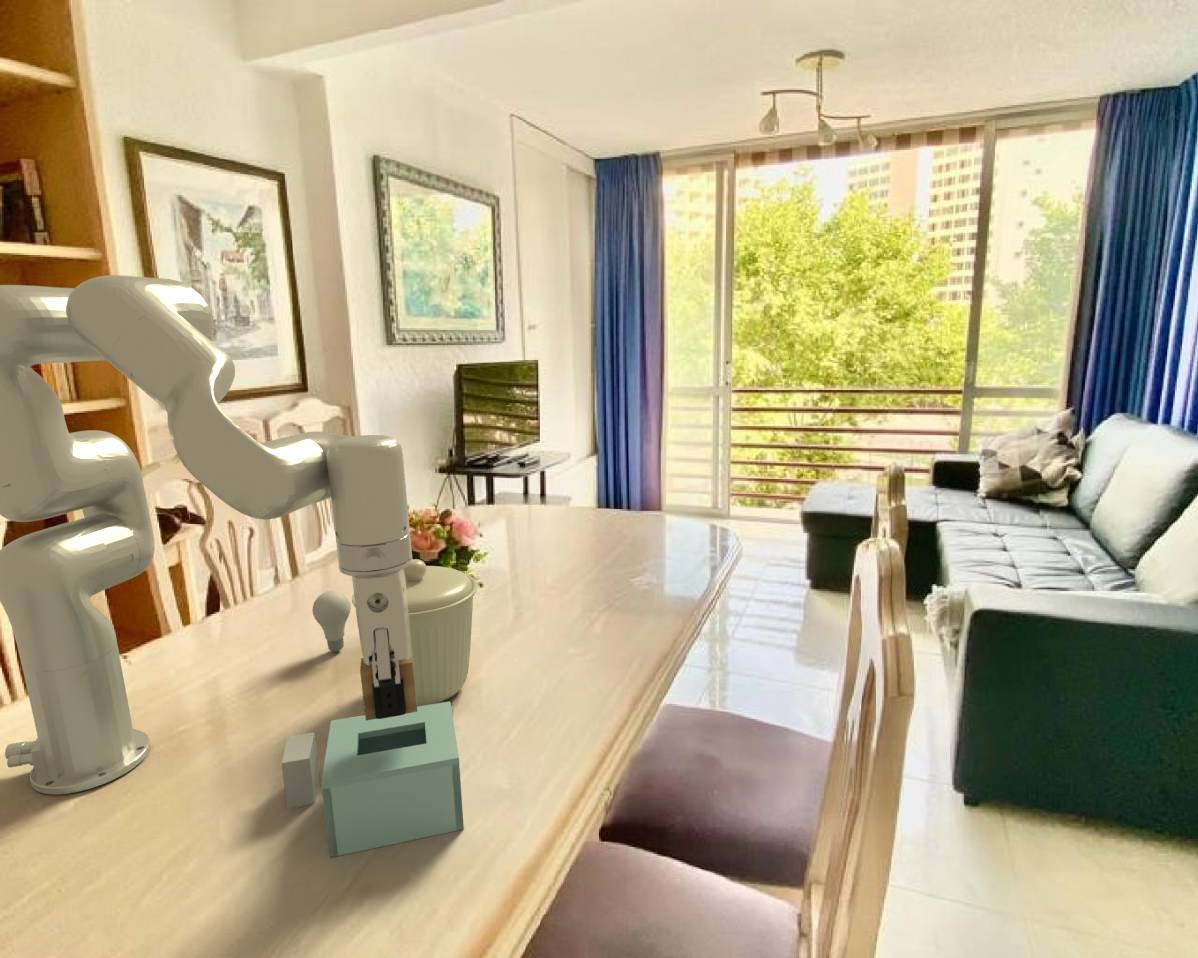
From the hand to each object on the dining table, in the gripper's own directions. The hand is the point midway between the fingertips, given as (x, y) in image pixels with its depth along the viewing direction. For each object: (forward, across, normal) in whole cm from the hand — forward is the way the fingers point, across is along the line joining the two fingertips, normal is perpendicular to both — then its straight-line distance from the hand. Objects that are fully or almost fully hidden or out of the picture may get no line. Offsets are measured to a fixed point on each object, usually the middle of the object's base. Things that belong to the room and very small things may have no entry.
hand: (391, 705), depth 78 cm
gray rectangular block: (+13, +7, +11) cm, 19 cm away
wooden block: (0, 0, 0) cm, 0 cm away
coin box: (+13, 0, 0) cm, 13 cm away
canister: (+13, +27, -4) cm, 30 cm away
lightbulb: (+13, +45, +10) cm, 48 cm away
